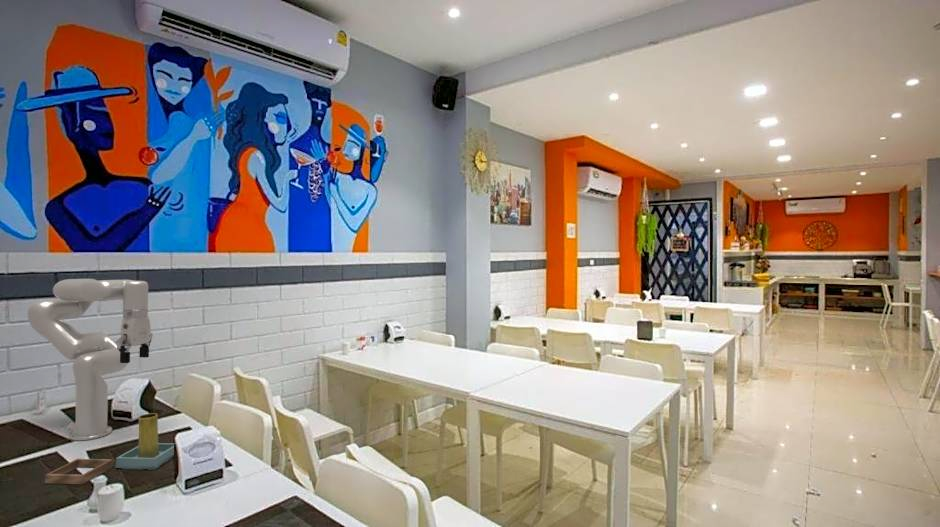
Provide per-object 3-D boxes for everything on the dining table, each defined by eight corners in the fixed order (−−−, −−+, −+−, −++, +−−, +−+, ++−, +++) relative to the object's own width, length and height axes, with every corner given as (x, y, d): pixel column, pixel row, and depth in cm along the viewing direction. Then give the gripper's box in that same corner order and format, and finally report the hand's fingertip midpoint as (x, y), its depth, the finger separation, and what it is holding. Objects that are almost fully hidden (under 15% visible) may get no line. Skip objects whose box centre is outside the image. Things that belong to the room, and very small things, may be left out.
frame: (44, 483, 141) (44, 475, 141) (77, 466, 152) (77, 458, 152) (82, 484, 140) (82, 476, 140) (112, 467, 152) (112, 459, 152)
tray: (115, 468, 151) (116, 458, 151) (143, 452, 164) (143, 442, 163) (154, 469, 151) (154, 459, 151) (179, 453, 163) (179, 443, 163)
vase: (148, 462, 154) (148, 419, 153) (132, 460, 155) (132, 418, 155) (163, 454, 160) (163, 413, 159) (148, 453, 161) (147, 412, 161)
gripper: (128, 317, 164) (127, 365, 164) (161, 311, 182) (160, 355, 182) (107, 316, 164) (106, 365, 164) (142, 311, 182) (141, 355, 182)
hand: (134, 359), depth 173 cm, fingers open, 9 cm apart
